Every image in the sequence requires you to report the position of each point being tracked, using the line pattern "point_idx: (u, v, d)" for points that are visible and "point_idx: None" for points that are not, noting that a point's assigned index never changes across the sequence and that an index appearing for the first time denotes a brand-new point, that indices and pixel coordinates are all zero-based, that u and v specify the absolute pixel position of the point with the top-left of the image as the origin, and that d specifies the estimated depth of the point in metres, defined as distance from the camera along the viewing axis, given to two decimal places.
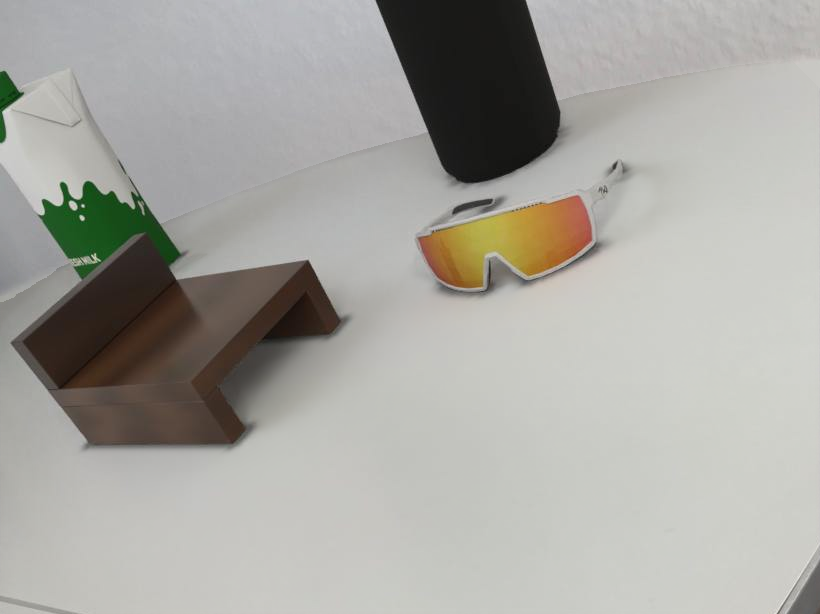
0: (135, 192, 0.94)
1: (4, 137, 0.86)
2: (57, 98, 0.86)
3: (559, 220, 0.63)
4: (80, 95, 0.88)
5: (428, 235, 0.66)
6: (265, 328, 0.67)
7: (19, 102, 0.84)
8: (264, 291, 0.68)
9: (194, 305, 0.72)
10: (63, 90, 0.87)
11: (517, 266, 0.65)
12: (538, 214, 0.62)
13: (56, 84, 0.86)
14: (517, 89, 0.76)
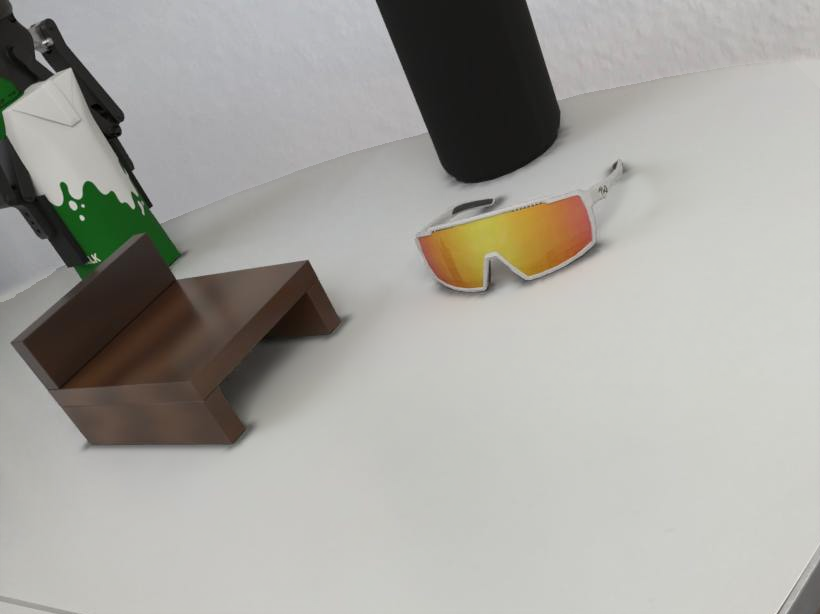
0: (135, 192, 0.94)
1: (4, 137, 0.86)
2: (57, 98, 0.86)
3: (559, 220, 0.63)
4: (80, 95, 0.88)
5: (428, 235, 0.66)
6: (265, 328, 0.67)
7: (19, 102, 0.84)
8: (264, 291, 0.68)
9: (194, 305, 0.72)
10: (63, 90, 0.87)
11: (517, 266, 0.65)
12: (538, 214, 0.62)
13: (56, 84, 0.86)
14: (517, 89, 0.76)
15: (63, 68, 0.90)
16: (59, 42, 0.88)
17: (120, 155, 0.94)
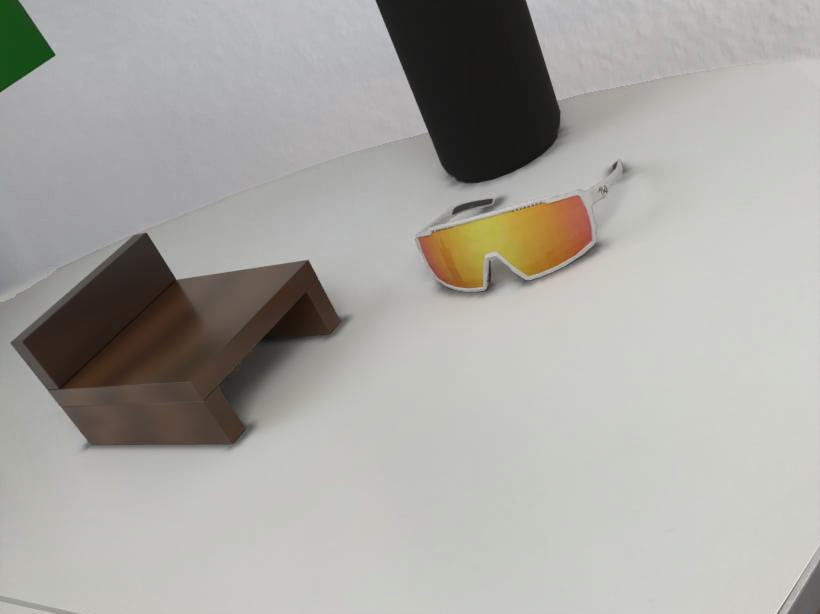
0: None
1: None
2: None
3: (559, 220, 0.63)
4: None
5: (428, 235, 0.66)
6: (265, 328, 0.67)
7: None
8: (264, 291, 0.68)
9: (194, 305, 0.72)
10: None
11: (517, 266, 0.65)
12: (538, 214, 0.62)
13: None
14: (517, 89, 0.76)
15: None
16: None
17: None
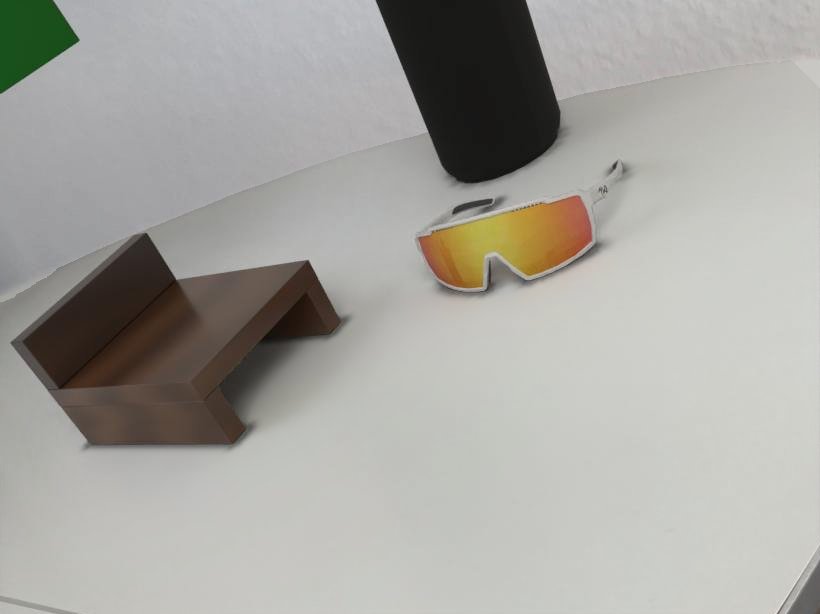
0: None
1: None
2: None
3: (559, 220, 0.63)
4: None
5: (428, 235, 0.66)
6: (265, 328, 0.67)
7: None
8: (264, 291, 0.68)
9: (194, 305, 0.72)
10: None
11: (517, 266, 0.65)
12: (538, 214, 0.62)
13: None
14: (517, 88, 0.76)
15: None
16: None
17: None
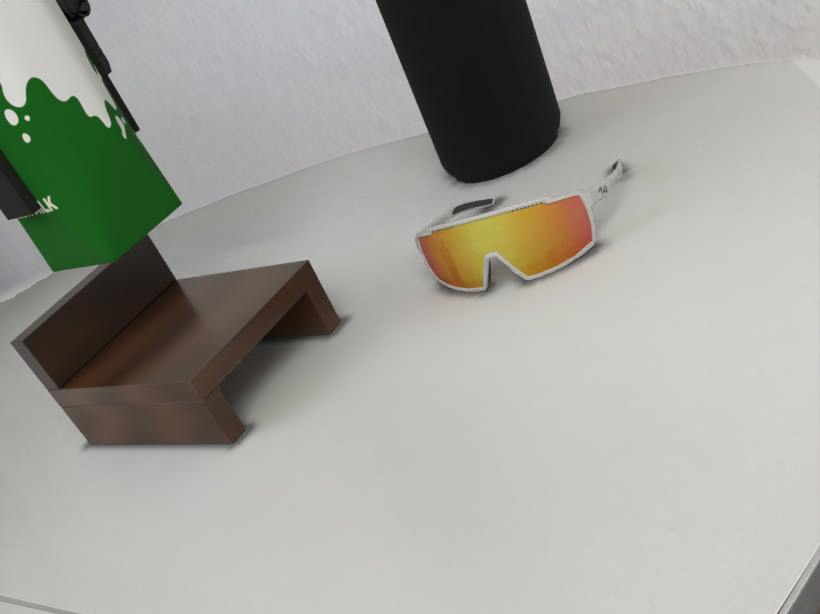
0: (112, 103, 0.61)
1: None
2: None
3: (559, 220, 0.63)
4: None
5: (428, 235, 0.66)
6: (265, 328, 0.67)
7: None
8: (264, 291, 0.68)
9: (194, 305, 0.72)
10: None
11: (517, 266, 0.65)
12: (538, 214, 0.62)
13: None
14: (517, 88, 0.76)
15: None
16: None
17: (89, 47, 0.61)
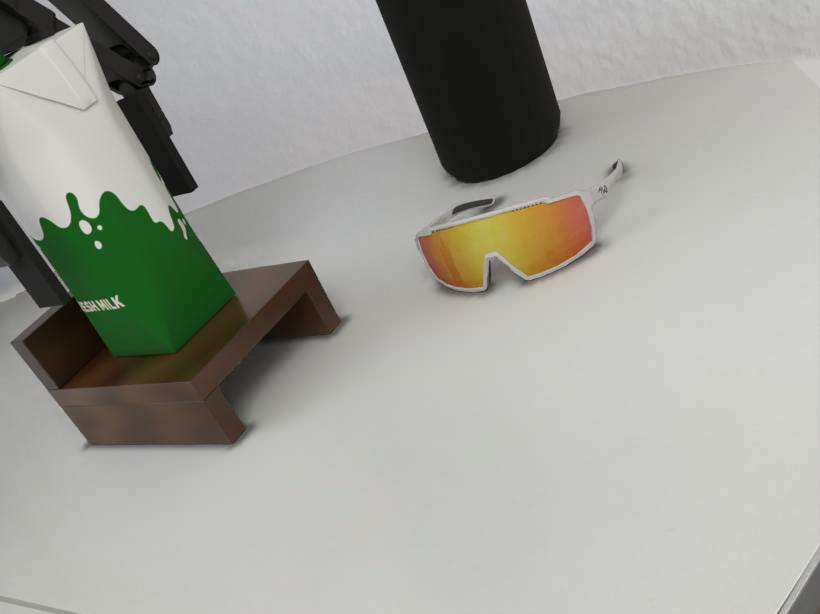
0: (174, 206, 0.65)
1: None
2: (63, 67, 0.57)
3: (559, 220, 0.63)
4: (96, 64, 0.59)
5: (428, 235, 0.66)
6: (265, 328, 0.67)
7: (5, 72, 0.55)
8: (264, 291, 0.68)
9: None
10: (72, 56, 0.58)
11: (517, 266, 0.65)
12: (538, 214, 0.62)
13: (60, 46, 0.57)
14: (517, 88, 0.76)
15: (66, 0, 0.61)
16: None
17: (153, 113, 0.66)
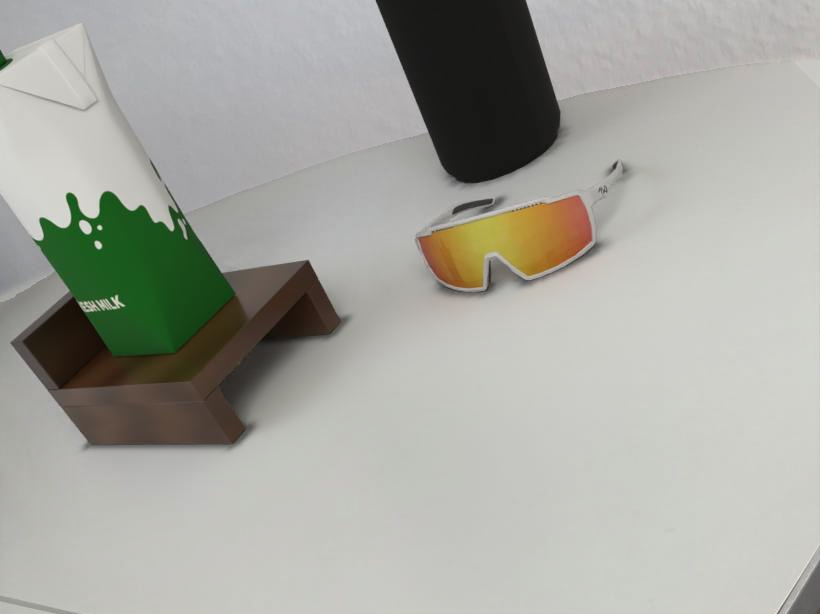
0: (174, 206, 0.65)
1: None
2: (63, 67, 0.57)
3: (559, 220, 0.63)
4: (96, 64, 0.59)
5: (428, 235, 0.66)
6: (265, 328, 0.67)
7: (5, 72, 0.55)
8: (264, 291, 0.68)
9: None
10: (72, 56, 0.58)
11: (517, 266, 0.65)
12: (538, 214, 0.62)
13: (60, 46, 0.57)
14: (517, 89, 0.76)
15: None
16: None
17: None
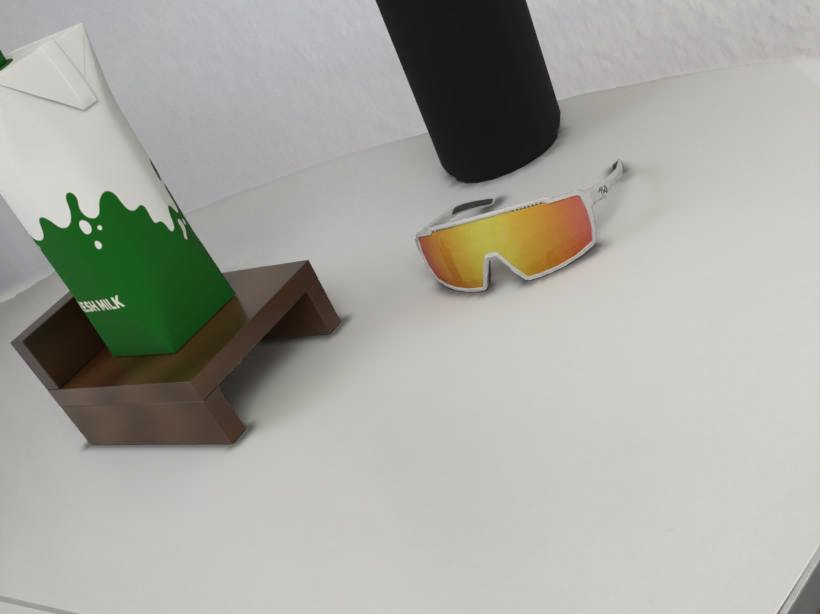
0: (174, 206, 0.65)
1: None
2: (63, 67, 0.57)
3: (559, 220, 0.63)
4: (96, 64, 0.59)
5: (428, 235, 0.66)
6: (265, 328, 0.67)
7: (5, 72, 0.55)
8: (264, 291, 0.68)
9: None
10: (72, 56, 0.58)
11: (517, 266, 0.65)
12: (538, 214, 0.62)
13: (60, 46, 0.57)
14: (517, 88, 0.76)
15: None
16: None
17: None
